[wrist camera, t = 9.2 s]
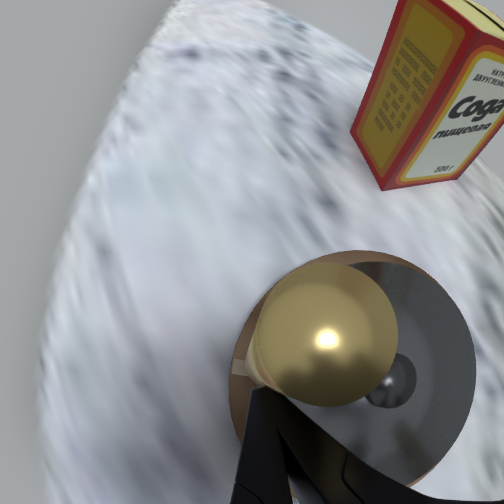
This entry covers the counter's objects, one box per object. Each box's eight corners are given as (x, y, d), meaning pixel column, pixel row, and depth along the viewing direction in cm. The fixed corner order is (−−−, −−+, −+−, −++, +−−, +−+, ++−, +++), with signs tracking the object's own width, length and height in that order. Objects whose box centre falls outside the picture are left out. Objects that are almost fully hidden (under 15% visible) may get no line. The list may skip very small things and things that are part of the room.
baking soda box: (381, 191, 23) (480, 24, 9) (349, 131, 26) (407, -28, 11) (457, 179, 25) (549, 59, 10) (425, 128, 27) (491, 7, 12)
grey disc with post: (466, 291, 19) (595, 211, 7) (439, 484, 13) (579, 520, 2) (270, 245, 19) (309, 73, 8) (216, 472, 14) (181, 614, 3)
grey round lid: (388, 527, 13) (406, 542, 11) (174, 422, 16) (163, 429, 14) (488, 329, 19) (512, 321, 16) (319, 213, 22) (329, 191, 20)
